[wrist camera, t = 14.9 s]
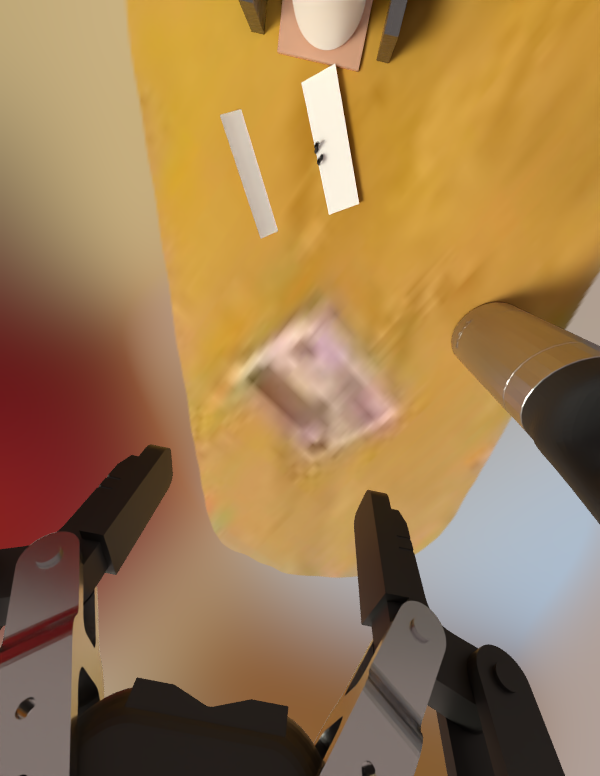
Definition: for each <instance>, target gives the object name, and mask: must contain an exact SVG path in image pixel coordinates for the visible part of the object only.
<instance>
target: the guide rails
mask: <svg viewBox="0 0 600 776" xmlns="http://www.w3.org/2000/svg"><path fill="white" fill-rule="evenodd" d="M239 2H240V5H241V7H242V9H243V12H244V14H245V17H246V19H247V21H248V24H249V26H250V29H251V31H252V32H256V33H260V34H264V29H265V16H266V4H267V0H239ZM406 4H407V0H390V3H389V7H388V11H387V16H386V20H385V25H384V29H383V34H382V38H381V42H380V47H379V51H378V56H377V61H381V62H385V63H389V61H390V58H391V55H392V53H393V50H394V47H395V44H396V42H397V39H398V36H399V32H400V28H401V24H402V20H403V16H404V12H405V8H406Z"/></svg>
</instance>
